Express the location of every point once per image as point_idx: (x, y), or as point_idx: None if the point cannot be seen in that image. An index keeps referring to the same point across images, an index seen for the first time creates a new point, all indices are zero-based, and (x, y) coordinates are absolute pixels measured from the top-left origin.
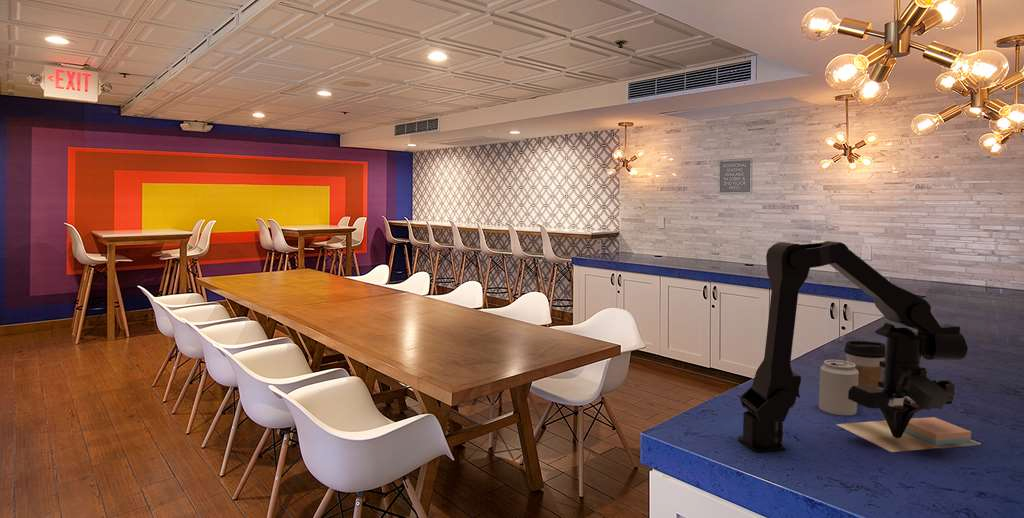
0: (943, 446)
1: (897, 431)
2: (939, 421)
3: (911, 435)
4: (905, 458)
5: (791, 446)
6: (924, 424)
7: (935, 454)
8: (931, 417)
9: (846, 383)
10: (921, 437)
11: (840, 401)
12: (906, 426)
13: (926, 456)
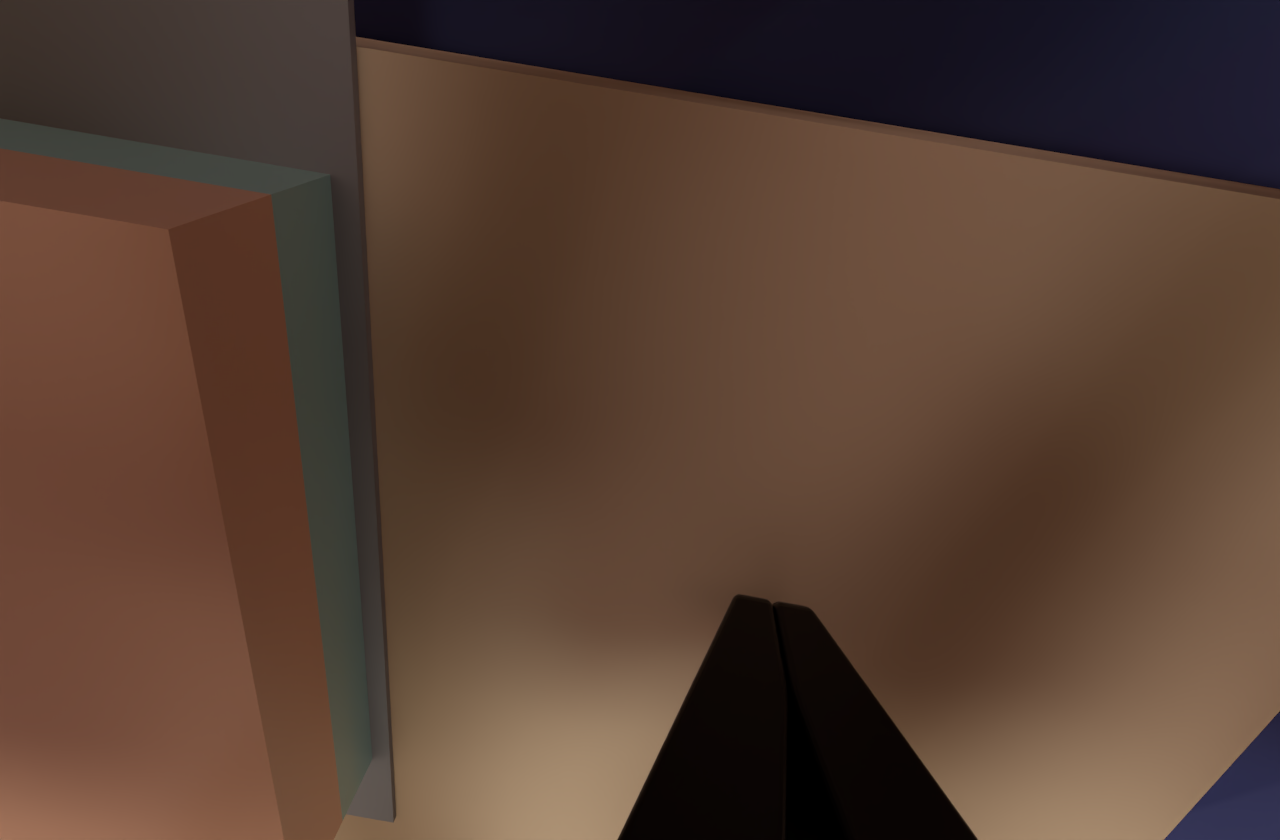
0: (224, 33)
1: (884, 709)
2: None
3: (393, 600)
4: (1270, 122)
5: None
6: (16, 698)
7: (500, 50)
8: None
9: None
10: (340, 483)
11: None
12: (669, 759)
13: (766, 40)
